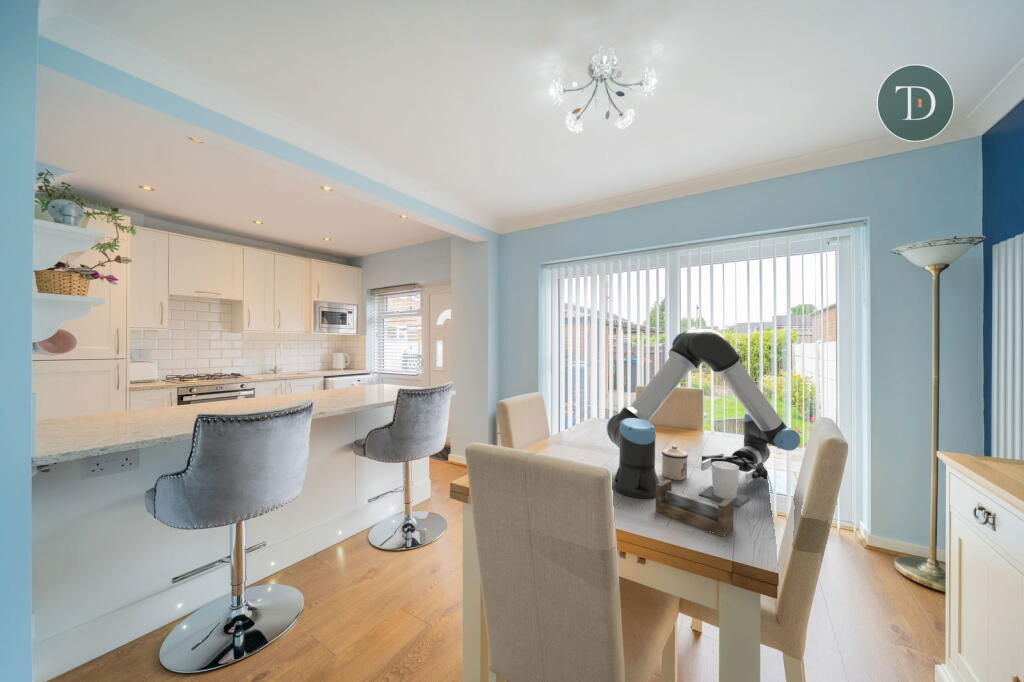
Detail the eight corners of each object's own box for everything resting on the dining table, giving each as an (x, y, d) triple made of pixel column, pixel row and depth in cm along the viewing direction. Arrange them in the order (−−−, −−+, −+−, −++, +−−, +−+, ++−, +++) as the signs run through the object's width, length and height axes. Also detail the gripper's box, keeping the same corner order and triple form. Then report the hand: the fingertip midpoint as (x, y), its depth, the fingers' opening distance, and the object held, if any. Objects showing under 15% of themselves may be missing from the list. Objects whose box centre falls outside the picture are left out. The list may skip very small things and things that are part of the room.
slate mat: (699, 495, 125) (699, 493, 125) (711, 487, 132) (711, 485, 132) (739, 507, 116) (739, 505, 116) (749, 498, 123) (749, 497, 123)
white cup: (727, 502, 119) (728, 470, 119) (705, 492, 126) (706, 462, 126) (744, 498, 122) (744, 467, 122) (721, 488, 129) (722, 460, 129)
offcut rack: (655, 511, 113) (655, 484, 113) (666, 504, 118) (667, 479, 118) (723, 536, 99) (724, 506, 99) (733, 528, 103) (733, 499, 103)
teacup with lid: (686, 482, 136) (687, 450, 136) (660, 477, 140) (660, 447, 140) (688, 472, 147) (688, 442, 147) (663, 468, 151) (664, 439, 151)
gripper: (787, 479, 127) (768, 495, 113) (710, 460, 146) (685, 472, 132) (787, 457, 127) (768, 471, 113) (710, 441, 146) (685, 451, 132)
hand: (723, 472), depth 123 cm, fingers open, 13 cm apart
